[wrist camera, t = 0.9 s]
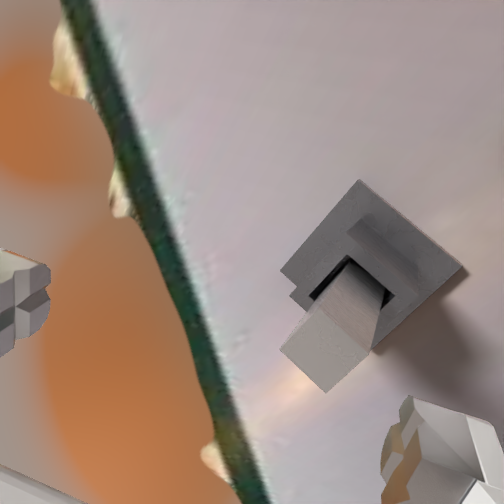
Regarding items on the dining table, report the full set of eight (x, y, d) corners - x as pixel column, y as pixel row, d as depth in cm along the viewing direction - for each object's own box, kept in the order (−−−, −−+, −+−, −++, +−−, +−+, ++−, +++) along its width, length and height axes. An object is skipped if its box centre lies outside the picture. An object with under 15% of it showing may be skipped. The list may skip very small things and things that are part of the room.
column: (389, 269, 45) (369, 354, 25) (363, 295, 46) (323, 395, 26) (361, 244, 45) (318, 308, 25) (336, 271, 47) (276, 351, 27)
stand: (460, 263, 44) (479, 302, 31) (370, 346, 49) (354, 408, 37) (359, 179, 46) (338, 184, 33) (283, 267, 51) (240, 301, 39)
